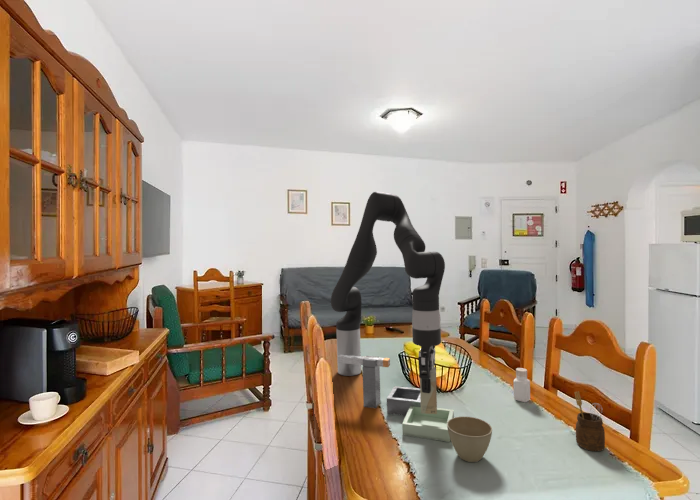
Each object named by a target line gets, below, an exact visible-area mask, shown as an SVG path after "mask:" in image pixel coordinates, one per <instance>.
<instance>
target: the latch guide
mask: <svg viewBox="0 0 700 500" xmlns="http://www.w3.org/2000/svg"><path fill="white" fill-rule="evenodd" d="M365 357H377V358H380V357H379V356H374V355H366V356H365ZM380 367H381V366H376V360H370V359H363V365H362V366H361V369H362V392H363V395H362V396H363V397H362V399H363V407H364V408H369V409H377V408H378V407H379V404H380V403H381V375H380V373H381V372H380V371H381V370H380Z"/></svg>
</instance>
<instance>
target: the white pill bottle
mask: <svg viewBox="0 0 700 500" xmlns="http://www.w3.org/2000/svg"><path fill="white" fill-rule="evenodd" d="M515 376H516V377H515V378H514V379H513V399H514V401H517V402H520V403H521V402H522V403H528V402H529V401H530V399H531V381H530V379H528V370H527V369H526V368H525V367H524V368H523V367H517V368H515Z"/></svg>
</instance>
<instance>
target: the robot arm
mask: <svg viewBox="0 0 700 500" xmlns="http://www.w3.org/2000/svg"><path fill="white" fill-rule="evenodd" d="M366 201H367V202H366V205H365V208H364V211H363V214H362V218H361V222H360V226H359V228H358V231H357V233H356V237H355V240H354V241H353V244H352V246H351V249H350V251H349V255H348V257H347V260H346V263H345V265H344V267H343V270H342V273H341V274H340V276H339V279H338V281H337V282H336V284H335V287H334V289H333V290H332V293H331V297H330V306H331V308H332V310H333V311H334V312H337V313H344V312H345V315H344V316H342V317H341V318H340V319H338V320H337V321H336V325H335V326H336V327H335V329H336V330H335V331H336V355H337V356H336V357H337V363H336V365H337V374H339V375H341V376H345V377H346V376H349V377H350V376H351V377H352V376H358V375H359V374H361V373H362V365H357V364H345V363H338V356H339V355H351V356H362V352H361V349H362V348H361V322H362V295H361V291H360V289H359V288H358V287H355V285H356V284H357V283H358V282H359V281H360V280H361V279H363V277H365V276H366V275H367V273H369V272H370V270H371V269H372V267H373V265H374V263H375V260H376V257H377V254H378V250H377V249H378V248H377V245H376V244H377V243H376V241H375V236H374V232H373V231H374V227H375V223H376V222H377V221H381V222H391V223H393V225H394V226H395V227H394V231H393V240H394V242H395V245H396V246H397V248H398V249H399V251H400V252H401V255H402V259H403V263H404V270H405V273H406V274H407V275H408V276H409V277H410V278H412V279H416V280H417V279H426V281H425V283H424V284H423V285H420V286H417V287H414V289H412V300H411V301H412V314H411V315H412V316H411V323H412V324H411V326H412V328H411V329H412V332H411V333H412V343H413V344H414V345H416V346H419V347H420V350H419V351H418V358H417V360H418V361H417V362H418V374H419V375H418V377H419V379H420V378H421V379H422V392H423V393H430V392H431V382H430V379H431V370H432V369H433V367H435V366H436V347H437V346H440V345H441V343H442V328H441V327H442V326H441V325H442V324H441V323H442V322H441V313H440V297H439V296H440V291H441V287H442V281H443V277H444V274H445V269H446V263H445V262H446V261H445V259H444V257H443V255H442V254H441V253H440V252H438V251H426V244H425V243H426V242H425V241H424V240H423V239H422V237H421V235H420V234H419V232H417V230H416V229H415V227H414V226H413V224H412V221H411V219H410V216H409V214H408V211H407V209H406V207H405V204H404V203H403V200H402V199H401V198H400V197H399V196H398V195H396V194H393V193H389V192H388V193H387V192H382V191H373V192H372V193H370V195H369V197H368V199H367V200H366ZM423 371H427V374H423Z"/></svg>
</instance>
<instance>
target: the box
mask: <svg viewBox="0 0 700 500" xmlns="http://www.w3.org/2000/svg"><path fill="white" fill-rule="evenodd" d="M423 374H427V371H423ZM430 382H431V392H430V393H423V392H422V379H421V378H420V377H419V389H420V400H421V413H424V414H437V408H438V402H437V401H438V400H437V369H436V367H435V366H434V367H433V369H432V370H431V379H430Z"/></svg>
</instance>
